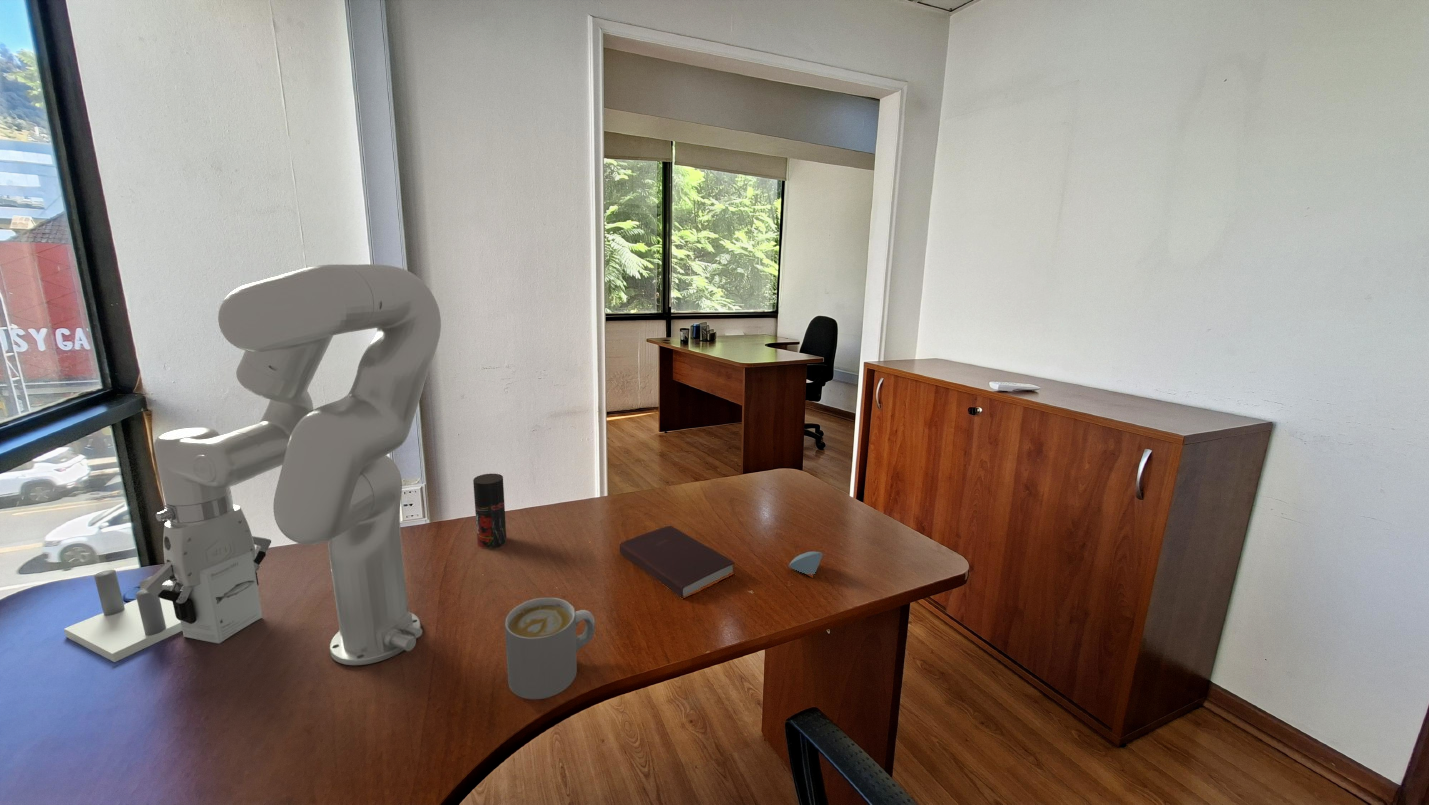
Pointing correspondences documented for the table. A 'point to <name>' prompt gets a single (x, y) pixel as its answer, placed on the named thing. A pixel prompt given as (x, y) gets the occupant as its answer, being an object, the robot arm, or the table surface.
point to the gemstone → (806, 562)
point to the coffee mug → (544, 646)
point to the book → (676, 559)
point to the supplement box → (224, 600)
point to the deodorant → (490, 510)
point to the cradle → (124, 621)
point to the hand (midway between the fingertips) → (220, 605)
